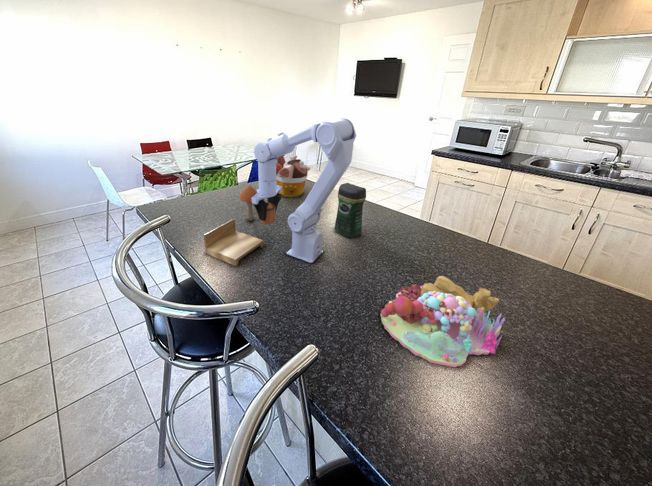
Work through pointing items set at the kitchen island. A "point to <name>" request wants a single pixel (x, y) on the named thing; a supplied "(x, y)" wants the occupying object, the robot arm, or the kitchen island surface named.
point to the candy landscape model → (443, 322)
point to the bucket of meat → (291, 176)
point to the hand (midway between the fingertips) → (267, 216)
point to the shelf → (229, 243)
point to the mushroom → (248, 200)
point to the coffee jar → (350, 209)
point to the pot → (270, 214)
